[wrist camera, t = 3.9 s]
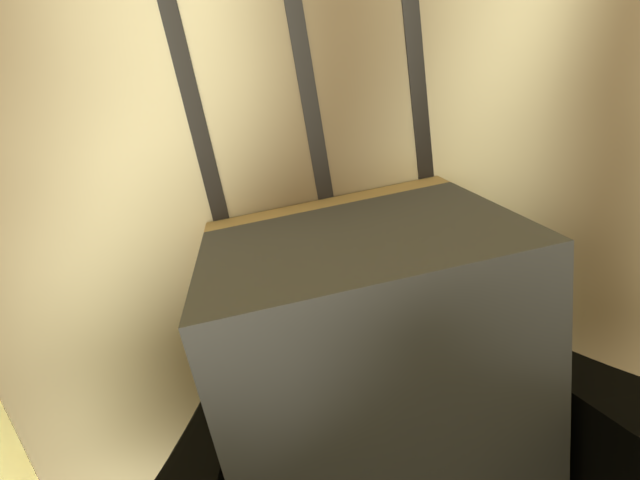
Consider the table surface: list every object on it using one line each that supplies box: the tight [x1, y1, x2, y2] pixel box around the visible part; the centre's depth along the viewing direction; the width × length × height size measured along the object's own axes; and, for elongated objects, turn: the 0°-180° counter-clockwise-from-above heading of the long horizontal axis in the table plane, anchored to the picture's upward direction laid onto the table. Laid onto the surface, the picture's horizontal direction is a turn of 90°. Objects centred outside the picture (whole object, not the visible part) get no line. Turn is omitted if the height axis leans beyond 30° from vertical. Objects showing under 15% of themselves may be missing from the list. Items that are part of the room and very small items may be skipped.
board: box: [0, 0, 640, 480], centre depth 10 cm, size 14×18×1 cm
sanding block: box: [178, 176, 574, 480], centre depth 8 cm, size 4×8×4 cm, turn 9°
